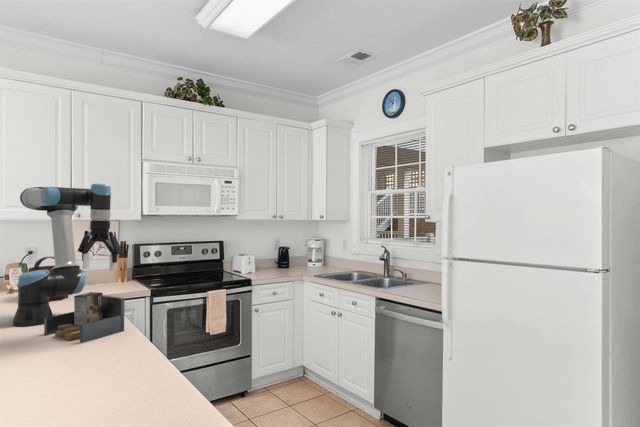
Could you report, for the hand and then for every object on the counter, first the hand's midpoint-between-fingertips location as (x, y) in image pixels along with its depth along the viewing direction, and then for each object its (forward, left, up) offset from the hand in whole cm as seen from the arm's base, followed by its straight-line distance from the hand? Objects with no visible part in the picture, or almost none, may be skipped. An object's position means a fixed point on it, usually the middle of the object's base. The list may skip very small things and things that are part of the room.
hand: (99, 269), depth 175 cm
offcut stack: (-2, -11, -27) cm, 29 cm away
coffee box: (-2, -3, -26) cm, 27 cm away
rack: (-2, -4, -26) cm, 27 cm away
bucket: (-85, +31, -26) cm, 94 cm away
